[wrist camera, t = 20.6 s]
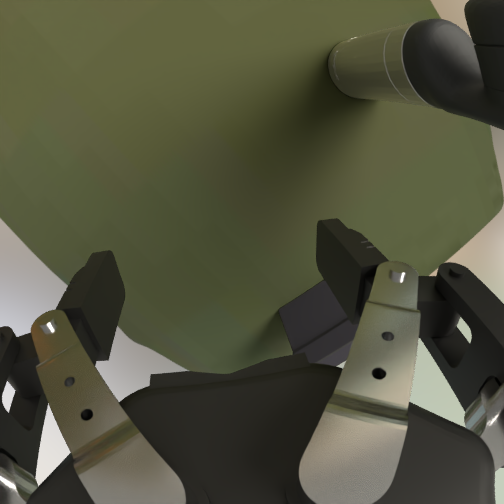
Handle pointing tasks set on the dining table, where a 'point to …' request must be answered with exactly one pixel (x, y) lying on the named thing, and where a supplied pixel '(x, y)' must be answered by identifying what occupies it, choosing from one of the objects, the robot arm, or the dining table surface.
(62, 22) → the dining table surface
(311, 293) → the dark grey box
